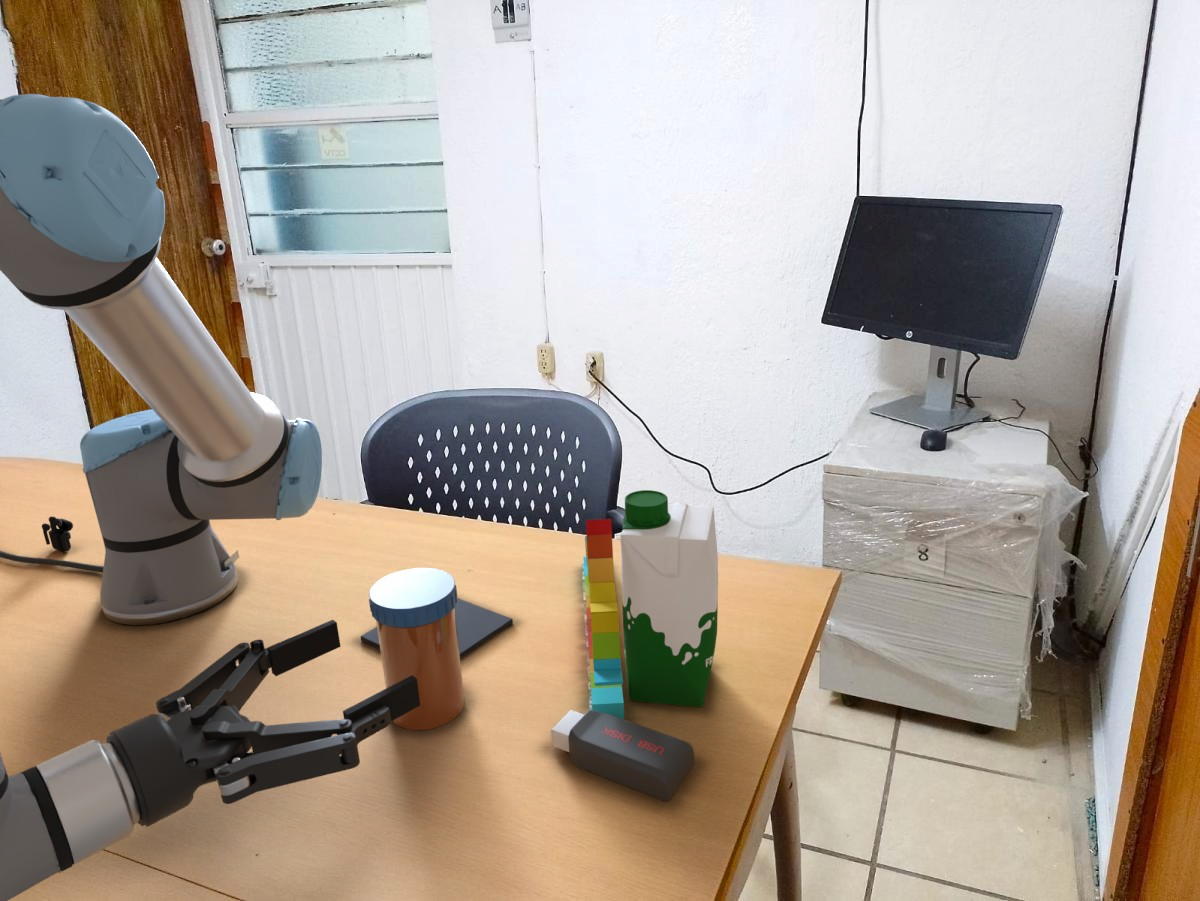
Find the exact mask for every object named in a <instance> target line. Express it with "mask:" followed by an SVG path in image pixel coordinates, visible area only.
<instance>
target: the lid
mask: <svg viewBox="0 0 1200 901" xmlns="http://www.w3.org/2000/svg"><path fill="white" fill-rule="evenodd" d="M368 596H369V599H368V604H369V608H370V609H369V610H370V613H371V617H372V618H373V619H374V620H375V622H376V621H377V622H379V623H381V624H384V625H387V626H391V627H416V626H421V625H425V624H429V623H432V622H435V621H437V620H439V619H441V618H443V617H445V616H446V615H448V614H449V613H450V612H451V611H452V610H453V609H454V607H455V605H456V603H457V598H458V590H457V585H456V580H455V578H454V576H453V575H451V573H449V572H447V571H446V570H442V569H439V568H434V567H412V568H407V569H401V570H398V571H395V572H392V573H389V574H387V575H385V576H383V577H382V578H380V579H378V580H376V582H374V584H372V586H371V588H370V589H369V593H368Z"/></svg>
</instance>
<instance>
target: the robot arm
mask: <svg viewBox="0 0 1200 901" xmlns="http://www.w3.org/2000/svg"><path fill="white" fill-rule="evenodd" d="M159 178H160V177H159V174H158V172H157V168H156V166H155V165H154V162H153V160H152V159H151V156H150V155H149V153H148V151H147V150H146V148H145V146H144V145H143V144H142V142H141V141H140V140H139V137H137V135H136V134H135V133H134V132H133V131H132V129H130V127H129V126H127V124H126V123H125V122H123V121H122V120H121V119H120V118H119V117H118V116H117V115H115V114H114V113H113V112H111V111H109V110H108V109H106V108H105V107H103V106H100V105H99V104H96V103H95V102H92V101H89V100H83V99H81V98H77V97H68V96H49V95H44V94H40V93H39V94H38V93H28V94H25V93H24V94H16V95H15V94H14V95H11V96H7V97H4V98H1V99H0V272H1V273H2V274H3V275H4V276H5V277H6V278H7V279H8V281H9V282H10V283H11V284H12V285H13V286H14V287H15V288H16V289H17V290H18V291H19V292H20V293H21V294H22V295H23V296H24V297H25V298H26V299H27V300H28V301H29V302H31V303H33V304H34V305H37V306H40V307H42V308H45V309H51V310H59V311H64V312H65V313H66V315H67V316H68V317H69V318H70V319H71V320H72V321H73V322H74V323H75V325H76V326H78V328H79V329H80V330H81V332H83V334H84V335H85V336H86V337H87V339H89V340H90V341H91V342H92V343H93V345H94V346H95V347H96V348H97V349H98V350H99V351H100V352H101V353H102V355H103V356H104V357H105V358H106V359H107V360H108V362H109V363H111V365H112V366H113V367H114V368H115V370H117V371H118V373H119V374H120V375H121V376H122V377H123V378H124V379H125V381H127V383H128V384H129V385H130V386H131V387H132V388H133V390H134V391H135V392H136V393H137V394H138V395H139V396H140V397H141V398H142V399H143V401H144V402H145V403H146V404H147V405H148V406H149V409H146V410H142V411H137V412H133V413H130V414H129V413H128V414H126V415H123V416H119V417H116V418H113V419H111V420H108V421H105V422H102V423H101V424H98V425H96V426H94V427H93V428H90V430H88V431H86V432H85V433H84V435H83V437H81V439H80V443H79V449H80V456H81V462H82V472H83V474H84V475H85V479H86V482H87V486H88V489H89V493H90V496H91V501H92V504H93V507H94V511H95V515H96V519H97V522H98V526H99V530H100V534H101V537H102V541H103V546H104V549H105V552H104V554H105V555H104V561H103V565H97V564H89V563H84V562H83V563H82V562H78V561H72V560H71V561H70V560H64V559H63V560H62V559H54V558H45V557H30V556H22V555H17V554H13V553H10V552H6V551H3V550H0V558H2V559H5V560H10V561H14V562H19V563H24V564H25V563H26V564H32V565H33V564H35V565H47V566H58V567H64V568H72V569H76V570H77V569H78V570H84V571H90V572H97V573H102V578H101V585H100V592H99V595H100V605H101V609H102V611H103V614H104V616H105V617H106V619H109V620H110V621H112V622H114V623H118V624H122V625H130V626H141V625H142V626H145V625H154V624H155V625H156V624H162V623H168V622H172V621H177V620H180V619H183V618H187V617H189V616H192V615H195V614H198V613H200V612H203V611H205V610H207V609H209V608H211V607H213V606H214V605H216V604H218V603H220V602H221V601H223V600H224V599H226V598H227V597H228V596H229V595H230V594H231V593H232V592H233V591H234V590H235V588H236V587H237V584H238V582H239V577H238V572H237V568H236V565H235V562H236V561H238V559H240V554H239V550H235V551H234V553H232V554H231V555H230V554H229V552H228V551H227V550H226V547H225V546H224V544H223V543H222V542H221V540H220V539H219V537H218V535H217V534H216V532H215V531H214V528H213V527H212V525H211V521H218V520H219V521H220V520H224V521H225V520H265V519H266V520H268V519H271V520H272V519H275V520H276V521H281V520H283V519H293V518H301V517H303V516H305V515H307V514H308V513H309V511H311V509H312V508H313V507H314V505H315V503H316V500H317V497H318V494H319V489H320V486H321V480H322V470H323V452H322V451H323V450H322V449H323V447H322V442H321V436H320V432H319V430H318V428H317V426H316V424H315V423H314V422H313V421H312V420H310V419H309V420H308V419H302V418H301V417H297V418H296V419H287V418H285V416H284V414H283V413H282V411H281V410H280V409H279V407H278V406H277V405H276V404H275V403H274V402H273V401H272V400H271V399H269V398H268V397H266V396H265V395H261V394H258V393H255V392H251V391H250V390H249V388H248V387H247V386H246V384H245V383H244V381H243V380H242V379H241V377H240V376H239V374H238V372H237V371H236V370H235V368H234V367H233V365H232V363H230V361H229V360H228V358H227V357H226V355H225V354H224V353H223V351H222V349H221V348H220V347H219V345H218V344H217V343H216V341H215V339H214V337H213V336H212V335H211V333H210V332H209V331H208V329H207V328H206V327H205V325H204V324H203V322H202V321H201V320H200V318H199V317H198V315H197V313H196V312H195V311H194V309H193V308H192V306H191V305H190V303H189V302H188V301H187V299H186V298H185V296H184V295H183V293H182V292H181V291H180V289H179V288H178V286H177V285H176V283H175V282H174V280H173V279H172V278H171V276H170V275H169V274H168V271H167V270H166V269H165V267H164V266H163V265H162V263H161V261H160V260H159V259H158V255H159V253H160V249H161V244H162V235H163V231H164V227H165V221H166V203H165V196H164V191H162V190H161V189H160V188H159V187H158V185H157V180H159ZM339 648H341V639H340V635H339V628H338V622H337V621H336V620H334V619H331V620H329V621H326V622H324V623H321V624H319V625H317V626H315V627H312V628H310V629H308V630H305V631H303V632H301V633H299V634H296V635H294V636H292V637H291V636H290V637H288V638H286V639H284V640H281V641H280V642H277V643H275V644H272V645H270V646H268V647H265V643H264V640H263V639H259V638H258V639H254V640H252V641H250V642H245V641H244V642H241V643H238V644H237V645H235V646H234V647H233V648H231V649H229V651H227V652H226V653H225V654H223V655H221V657H219V658H218V659H217V660H215V661H214V662H213V663H212V664H210V665H209V666H208V667H207V668H205V669H204V670H203V671H201V672H199V674H197V675H196V676H195V677H194V678H192V679H191V680H189V681H188V682H187V683H185V685H183V686H182V687H181V688H179V689H177V690H174V691H173V692H171V693H168V694H167V695H165V696H162V697H161V698H159V699H157V701H155V707H156V710H157V713H151V714H148V715H146V716H143V717H141V718H139V719H137V720H134V721H132V722H130V723H128V724H125V725H123V726H121V727H119V728H117V729H114V730H111V732H109V734H108V735H107V736H106V738H105V742H104V743H101V742H100V741H99V740H97V739H90V740H88V741H86V742H84V743H82V744H80V745H77V746H75V747H73V748H71V749H69V750H66V751H65V752H61V753H59V754H57V755H55V756H54V757H51V758H49V759H47V760H45V761H43V762H41V763H39V764H36V765H34V766H32V767H30V768H27V769H26V770H23V771H19V772H18V773H15V774H13V775H10V776H9V774H8V772H7V768H6V765H5V762H4V759H3V756H2V753H1V752H0V901H10V900H11V899H13V898H15V897H17V896H19V895H21V894H22V893H24V892H25V891H28V890H30V889H31V888H33V887H34V886H37V885H38V884H39V883H42V882H43V881H44V880H47V879H48V878H50V877H52V876H54V875H56V874H57V873H58V874H61V872H64V871H66V870H68V869H70V868H72V867H73V866H74V865H76V864H78V863H80V862H82V861H84V860H86V859H88V858H90V857H92V856H94V855H96V854H98V853H100V852H102V851H104V850H105V849H107V848H110V847H111V846H113V845H115V844H117V843H119V842H121V841H123V840H125V839H127V838H128V837H131V836H132V834H133V832H134V827H135V824H138V825H139V826H141V827H147V828H148V827H150V826H152V825H154V824H157V823H158V822H160V821H162V820H164V819H166V818H167V817H169V816H172V815H174V814H175V813H177V812H179V811H181V810H183V809H185V808H187V807H188V806H190V804H191V803H192V802H193V799H194V795H195V793H196V791H197V790H198V788H200V787H202V786H204V785H207V784H210V783H211V784H212V783H215V782H216V783H217V785H218V788H219V793H220V796H221V801H222V803H223V804H225V805H232V804H234V803H236V802H238V801H241V800H242V799H244V798H247V797H250V796H251V795H253V794H256V793H258V792H262V791H266V790H270V789H275V788H277V787H278V788H279V787H282V786H286V785H290V784H295V783H298V782H303V781H306V780H307V781H308V780H311V779H314V778H319V777H323V776H327V775H331V774H336V773H339V772H344V771H347V770H352V769H355V768H357V767H359V765H360V763H361V760H360V754H359V753H360V752H359V748H358V747H359V746H358V745H359V744H360V743H361V742H362V741H364V740H367V739H368V738H369V737H372V736H373V735H375V734H377V733H378V732H381V730H382V731H383V730H384V729H386V728H388V727H389V726H390V725H391V724H392V722H393V720H395V719H397V718H399V717H400V716H402V715H404V714H406V713H408V712H409V711H411V710H413V709H415V708H417V707H419V706H420V698H419V690H418V683H417V678H415V677H414V676H413V675H411V676H409V677H408V678H406V679H404V680H402V681H400V682H398V683H396V684H394V685H392V686H390V687H388V688H386V687H385V689H382V690H381V691H378V692H377V693H374V694H372V695H371V696H369V697H367V698H365V699H363V700H361V701H359V702H357V703H356V704H354V705H352V706H350V707H347V708H346V709H344V710H342V716H343V718H338V719H327V720H317V721H316V720H315V721H303V722H292V723H281V724H269V725H268V724H267V725H266V724H265V723H263V722H262V721H260V720H252V721H251V720H250V719H249V718H248V717H247V716H245V715H242V714H240V711H241V710H242V708H243V707H244V706H245V704H246V703H247V702H248V700H249V699H250V698H251V696H252V695H253V694H254V692H255V691H256V690H257V689H258V687H260V685H261V683H262V682H263V681H264V679H265V678H266V677H267V676H268V674H269V673H270V670H271V673H272V675H273V676H275V677H278V676H280V675H282V674H284V673H287V672H289V671H291V670H293V669H295V668H298V667H299V666H302V665H305V664H306V663H309V662H311V661H313V660H315V659H317V658H319V657H321V656H324V655H325V654H328V653H331V652H332V651H335V650H337V649H339ZM237 663H238V664H237ZM250 750H252V752H251V751H250ZM249 751H250V752H249Z"/></svg>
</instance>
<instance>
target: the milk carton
mask: <svg viewBox="0 0 1200 901" xmlns="http://www.w3.org/2000/svg"><path fill="white" fill-rule="evenodd" d="M714 509H715V508H714V506H711V505H709V506H708V505H689V504H688V503H685V502H683V503H681V502H676V503H669V498H668V496H667V495H666V494H665V493H664V492H661V491H657V490H651V489H650V490H649V489H644V490H643V489H641V490H636V491H632V492H630V493H628V494H627V495H625V497H624V516H623V519H622V527H621V533H620V536H619V537H620V538H619V539H620V560H621V561H620V564H621V565H620V566H621V568H620V569H621V600H622V601H621V602H622V603H621V604H622V605H621V606H622V633H623V634H622V635H623V636H622V637H623V638H622V639H623V651H624V663H625V670H626V679H627V680H626V681H627V689H628V699H629V701H631V702H632V701H633V702H643V703H652V704H653V703H654V704H664V705H672V706H681V707H683V706H684V707H694V708H695V707H696V708H703V707H704V703H705V698H706V695H707V694H706V693H707V689H708V684H709V680H710V676H711V671H712V667H713V663H714V657H715V652H716V644H717V636H718V616H719V615H718V612H719V611H718V609H719V607H718V604H719V554H718V541H717V533H716V532H717V530H716V521H715V510H714Z"/></svg>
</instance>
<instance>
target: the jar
mask: <svg viewBox="0 0 1200 901" xmlns="http://www.w3.org/2000/svg"><path fill="white" fill-rule="evenodd" d="M375 624H376V627H377V630H378V637H379V644H380V649H379V651H380V657H381V665H382V671H383V679H384V685H385V689H386V688H388V687H390V686H392V685H394V684H396V683H398V682H400V681H402V680H404V679H406V678H408V677H409V676H411V675H413V676H414V677H415V678H417V683H418V690H419V698H420V706H419V707H417V708H415V709H413V710H411V711H409V712H408V713H406V714H404V715H402V716H400V717H399V718H397V719H395V720H393V721H392V722H393V723H394V724H395V725H397V727H401V728H403V729H406V730H411V731H425V730H431V729H435V728H438V727H441V726H443V725H446V724H448V723H450V722H451V721H453V720H455V718H457V717H458V716H459V715H460V713H461V712H462V711H463V708H464V707H465V692H464V683H463V674H462V666H461V665H462V664H461V659H460V655H459V645H458V636H457V626H456V617H455V608H454V609H453V610H452V611H451V612H450V613H449V614H448V615H446V616H445V617H443V618H441V619H439V620H437V621H435V622H432V623H429V624H425V625H421V626H416V627H391V626H387V625H384V624H381V623H379V622H377V621H376V620H375Z"/></svg>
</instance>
